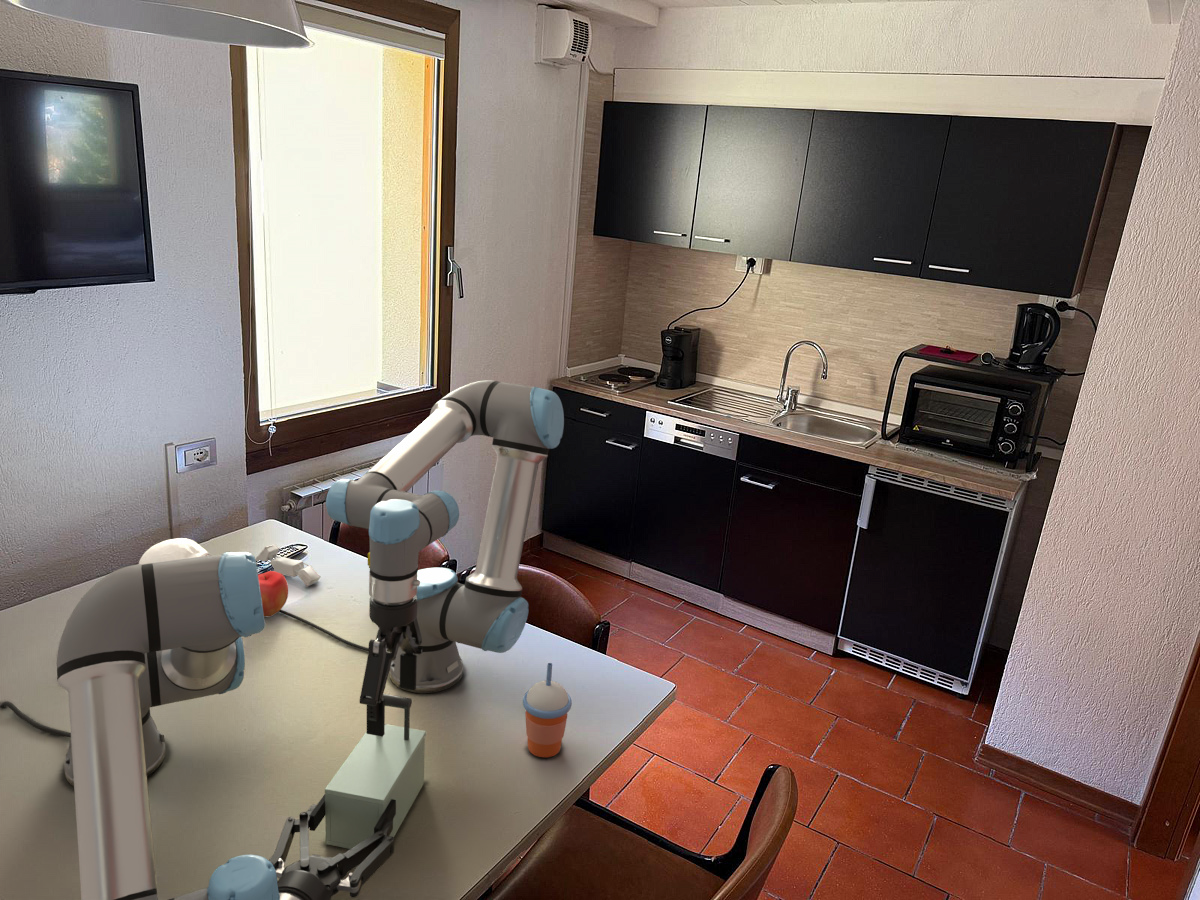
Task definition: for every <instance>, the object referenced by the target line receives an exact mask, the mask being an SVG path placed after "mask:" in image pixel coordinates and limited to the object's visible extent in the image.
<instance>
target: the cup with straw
mask: <svg viewBox="0 0 1200 900" xmlns="http://www.w3.org/2000/svg"><path fill="white" fill-rule="evenodd" d="M546 665H547V666H546V679H545V680H541V681H538V682H536V683H534V684H533V685H532V686H531V687H530V688H529V690H527V691H526V692H525V694H524V695H523V698H522V706H523V708H524V710H525V712H524V713H525V714H524V715H525V732H526V733H525V734H526V737H527V738H526V739H527V749H528V751H529V753H531V755H533V756H535V757H539V758H551V757H554V756H556V755H557V754H559V753H560V751H561V748H562V740H563V738H564V736H565V731H566V727H567V721H568V713H570V711H571V709H572V704H573V701H572V696H571V695H570V694H569V693H568V692H567V690H566V688H565V687H564V686H563V685H562V684H561V683H559V682H557V681H554V680H552V674H553V673H552V672H553V663H552V662H548V663H547V664H546Z"/></svg>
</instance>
